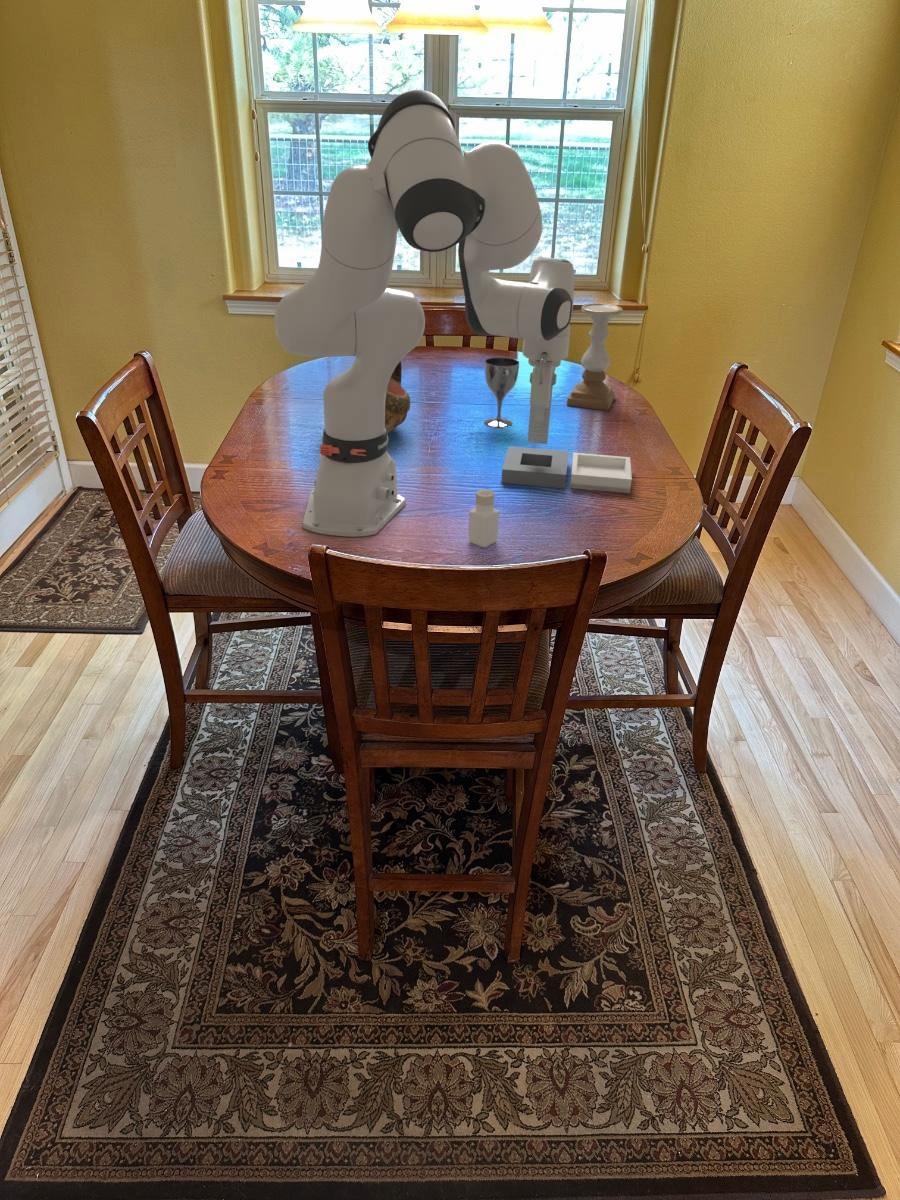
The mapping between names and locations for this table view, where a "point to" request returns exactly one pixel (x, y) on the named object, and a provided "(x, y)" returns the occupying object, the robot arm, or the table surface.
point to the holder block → (535, 467)
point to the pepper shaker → (483, 520)
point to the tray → (601, 472)
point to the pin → (540, 428)
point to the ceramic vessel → (396, 401)
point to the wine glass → (500, 384)
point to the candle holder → (595, 361)
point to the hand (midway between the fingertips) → (539, 415)
